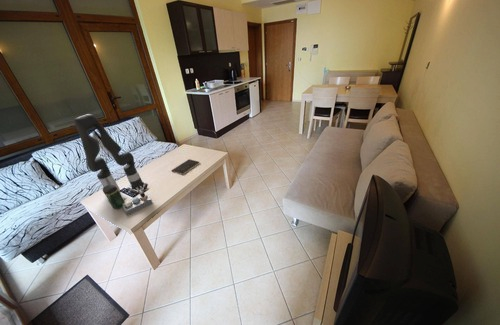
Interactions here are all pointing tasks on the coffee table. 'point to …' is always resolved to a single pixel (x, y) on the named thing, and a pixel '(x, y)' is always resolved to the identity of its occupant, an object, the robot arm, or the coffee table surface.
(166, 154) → the coffee table surface
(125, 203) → the button cream
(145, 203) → the console
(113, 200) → the coffee jar
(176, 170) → the hardcover book
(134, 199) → the button slate
